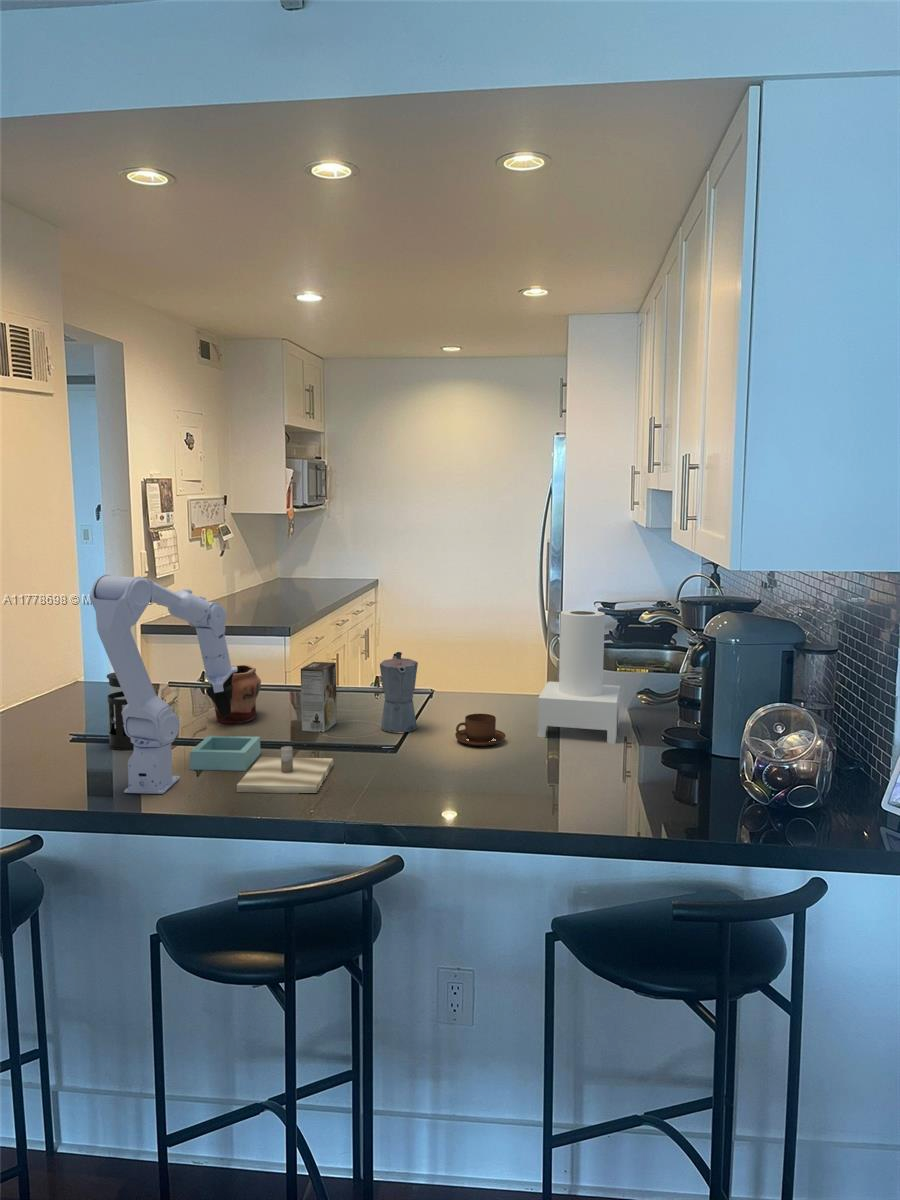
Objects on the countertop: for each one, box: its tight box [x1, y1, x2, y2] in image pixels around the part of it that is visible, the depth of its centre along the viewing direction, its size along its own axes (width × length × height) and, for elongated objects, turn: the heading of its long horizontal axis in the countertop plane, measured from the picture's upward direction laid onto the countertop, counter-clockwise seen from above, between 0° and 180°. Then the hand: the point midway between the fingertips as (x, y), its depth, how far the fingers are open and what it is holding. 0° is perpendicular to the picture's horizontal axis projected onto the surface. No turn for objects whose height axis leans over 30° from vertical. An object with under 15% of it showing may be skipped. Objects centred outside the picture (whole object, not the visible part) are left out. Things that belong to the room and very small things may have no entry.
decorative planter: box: [209, 664, 262, 724], centre depth 222 cm, size 20×12×14 cm, turn 173°
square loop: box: [189, 735, 261, 772], centre depth 190 cm, size 12×12×4 cm
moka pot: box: [379, 651, 419, 734], centre depth 216 cm, size 10×15×20 cm, turn 15°
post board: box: [236, 745, 334, 794], centre depth 179 cm, size 18×16×6 cm
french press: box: [106, 671, 134, 751], centre depth 201 cm, size 12×9×23 cm
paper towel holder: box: [537, 609, 621, 744], centre depth 215 cm, size 19×19×30 cm
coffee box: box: [300, 661, 338, 733], centre depth 217 cm, size 9×6×16 cm
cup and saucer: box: [455, 713, 506, 747], centre depth 206 cm, size 12×12×6 cm
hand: (226, 707), depth 195 cm, fingers open, 7 cm apart
